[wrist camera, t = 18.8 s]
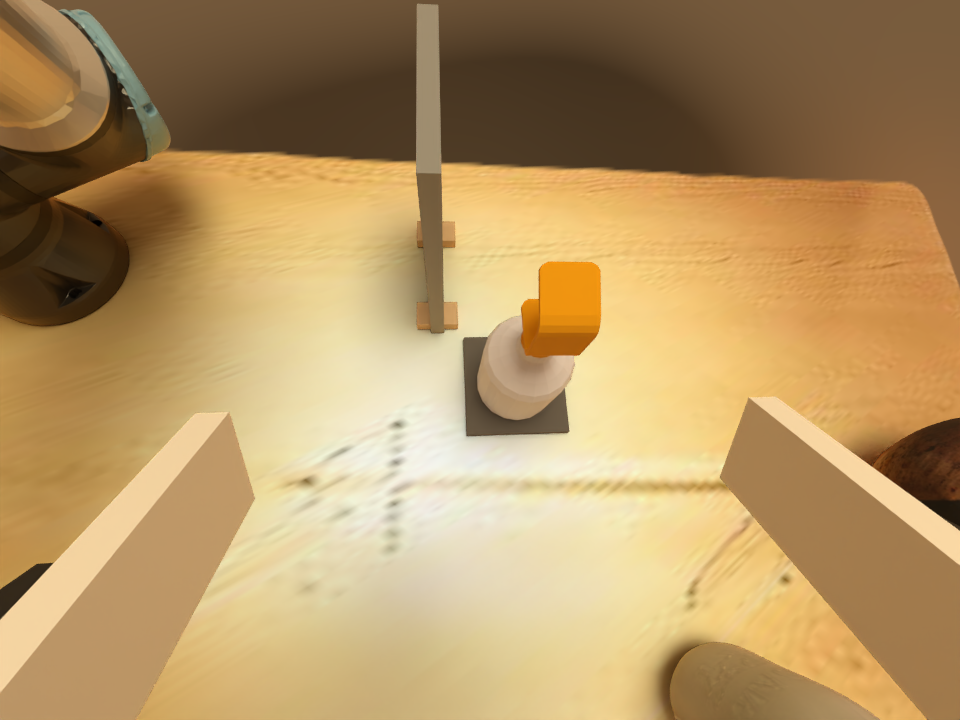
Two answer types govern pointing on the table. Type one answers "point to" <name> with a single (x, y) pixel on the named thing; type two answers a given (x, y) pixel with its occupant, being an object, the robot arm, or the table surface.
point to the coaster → (490, 423)
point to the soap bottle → (541, 341)
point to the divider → (431, 176)
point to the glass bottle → (751, 689)
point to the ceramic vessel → (928, 467)
